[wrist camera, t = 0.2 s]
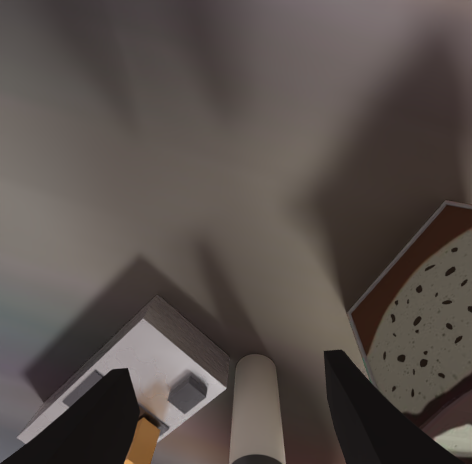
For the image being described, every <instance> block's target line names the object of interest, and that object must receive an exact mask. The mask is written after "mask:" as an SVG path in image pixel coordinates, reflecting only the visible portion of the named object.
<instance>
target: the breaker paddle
mask: <svg viewBox="0 0 472 464" xmlns="http://www.w3.org/2000/svg"><path fill="white" fill-rule="evenodd" d="M159 434H160V430H159V429H158V428H157V427H156V426H154V425H153V424H152V423H150V422H149V421H148V420H146V419H145V418H144V417H143V418H142V419H141V420H139V421H138V423H137V427H136V430H135V434H134V437H133V441H132V444H131V446H130V449H129V452H128V454H127V457H126V459H125V462H124V464H150V463H151V460H152V456H153V453H154V450H155V447H156V443H157V440H158V437H159Z"/></svg>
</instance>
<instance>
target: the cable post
mask: <svg viewBox="0 0 472 464" xmlns="http://www.w3.org/2000/svg"><path fill="white" fill-rule="evenodd" d="M229 464H286V460H285V450H284V440H283V430H282V420H281V410H280V401H279V391H278V381H277V371H276V366H275V364H274V363H273V361H272V360H271V359H270V358H268V357H266V356H264V355H260V354H251V355H247V356H245V357H243V358H242V359H241V360H240V361H239V362H238V363H237V365H236V370H235V384H234V399H233V413H232V427H231V441H230V456H229Z"/></svg>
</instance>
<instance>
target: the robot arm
mask: <svg viewBox="0 0 472 464" xmlns="http://www.w3.org/2000/svg"><path fill="white" fill-rule="evenodd" d="M324 361H325V374H326V388H327V399H328V403H329V408H330V412H331V416H332V420H333V425H334V429H335V432H336V434H337V437H338V440H339V443H340V446H341V449H342V452H343V455H344V458H345V461H346V464H466V463H464V462H463V461H462V460H460V459H459V458H457V457H456V456H454V455H453V454H451V453H450V452H449V451H447V450H446V449H445V448H444V447H442V446H441V445H440V444H438V443H437V442H436V441H434V440H433V439H432V438H431V437H429V436H428V435H427V434H426V433H425V432H423V431H422V430H421V429H420V428H418V427H417V426H416V425H415V424H414V423H413V422H411V421H410V420H409V419H408V418H407V417H406V416H405V415H404V414H403V413H401V412H400V411H399V410H398V409H397V408H396V407H395V406H394V405H393V404H392V403H391V402H390V401H389V400H388V399H387V398H386V397H385V396H384V395H383V394H382V393H381V392H380V391H379V390H378V389H377V388H376V387H375V386H374V385H373V384H372V383H371V382H370V381H369V380H368V379H367V378H366V377H365V376H364V374H363V373H362V372H361V371H360V370H359V369H358V368H357V367H356V365H355V364H354V363H353V362H352V361H351V359H350V358H349V357H348V356H347V355H346V353H345V352H344V351H342V350H332V351H324ZM139 415H140V409H139V405H138V402H137V398H136V395H135V391H134V388H133V384H132V381H131V377H130V374H129V370H128V368H120V369H112V370H111V371H109V372H108V373H107V374H106V375H105V376H104V377H102V378H101V379H100V380H99V381H98V382H97V383H96V384H95V385H94V386H92V387H91V388H90V389H89V390H88V391H87V392H86V393H85V394H84V395H83V396H82V397H80V398H79V399H78V400H77V401H76V402H75V403H74V404H73V405H72V406H70V407H69V408H68V409H67V410H66V411H65V412H64V413H63V414H61V415H60V416H59V417H58V418H57V419H56V420H54V421H53V422H52V423H51V424H50V425H48V426H47V427H46V428H45V429H44V430H43V431H41V432H40V433H39V434H38V435H37V436H35V437H34V438H33V439H32V440H31V441H29V442H28V443H27V444H25V445H24V446H23V447H22V448H20V449H19V450H18V451H16V452H15V453H14V454H12V455H11V456H10V457H8V458H7V459H6V460H4V461H3V462H2V463H0V464H124V462H125V459H126V457H127V454H128V452H129V449H130V446H131V444H132V441H133V437H134V434H135V430H136V427H137V423H138V419H139Z"/></svg>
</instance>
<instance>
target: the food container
mask: <svg viewBox="0 0 472 464" xmlns="http://www.w3.org/2000/svg"><path fill="white" fill-rule="evenodd" d="M347 316H348V319H349V322H350V325H351V328H352V330H353V333H354V336H355V339H356V342H357V345H358V348H359V351H360V353H361V356H362V359H363V362H364V365H365V368H366V371H367V373H368V376H369V379H370V382H371V383H372V384H373V385H374V386H375V387H376V388H377V389H378V390H379V391H380V392H381V393H382V394H383V395H384V396H385V397H386V398H387V399H388V400H389V401H390V402H391V403H392V404H393V405H394V406H395V407H396V408H397V409H398V410H399V411H400V412H401V413H403V414H404V415H405V416H406V417H407V418H408V419H409V420H410V421H411V422H413V423H414V424H415V425H416V426H417V427H418V428H420V429H421V430H422V431H423V432H425V433H426V434H427V435H428V436H429V437H431V438H432V439H433V440H434V441H436V442H437V443H438V444H440V445H441V446H442V447H444V448H445V449H446V450H447V451H449V452H450V453H451V454H453V455H454V456H456V457H457V458H459V459H460V460H462V461H463V462H464V463H466V464H472V205H471V204H465V203H459V202H454V201H448V200H445V201H444V202H443V203H442V205H441V206H440V207H439V208H438V209H437V210H436V211H435V213H434V214H433V215H432V216H431V217H430V218H429V219H428V221H427V222H426V223H425V224H424V225H423V226H422V227H421V229H420V230H419V231H418V232H417V233H416V234H415V235H414V237H413V238H412V239H411V240H410V241H409V242H408V243H407V245H406V246H405V247H404V248H403V249H402V250H401V251H400V253H399V254H398V255H397V256H396V257H395V258H394V259H393V261H392V262H391V263H390V264H389V265H388V266H387V267H386V269H385V270H384V271H383V272H382V273H381V274H380V275H379V277H378V278H377V279H376V280H375V281H374V282H373V283H372V285H371V286H370V287H369V288H368V289H367V290H366V291H365V293H364V294H363V295H362V296H361V297H360V298H359V299H358V301H357V302H356V303H355V304H354V305H353V306H352V307H351V309H350V310H349V311H348V312H347Z"/></svg>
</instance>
